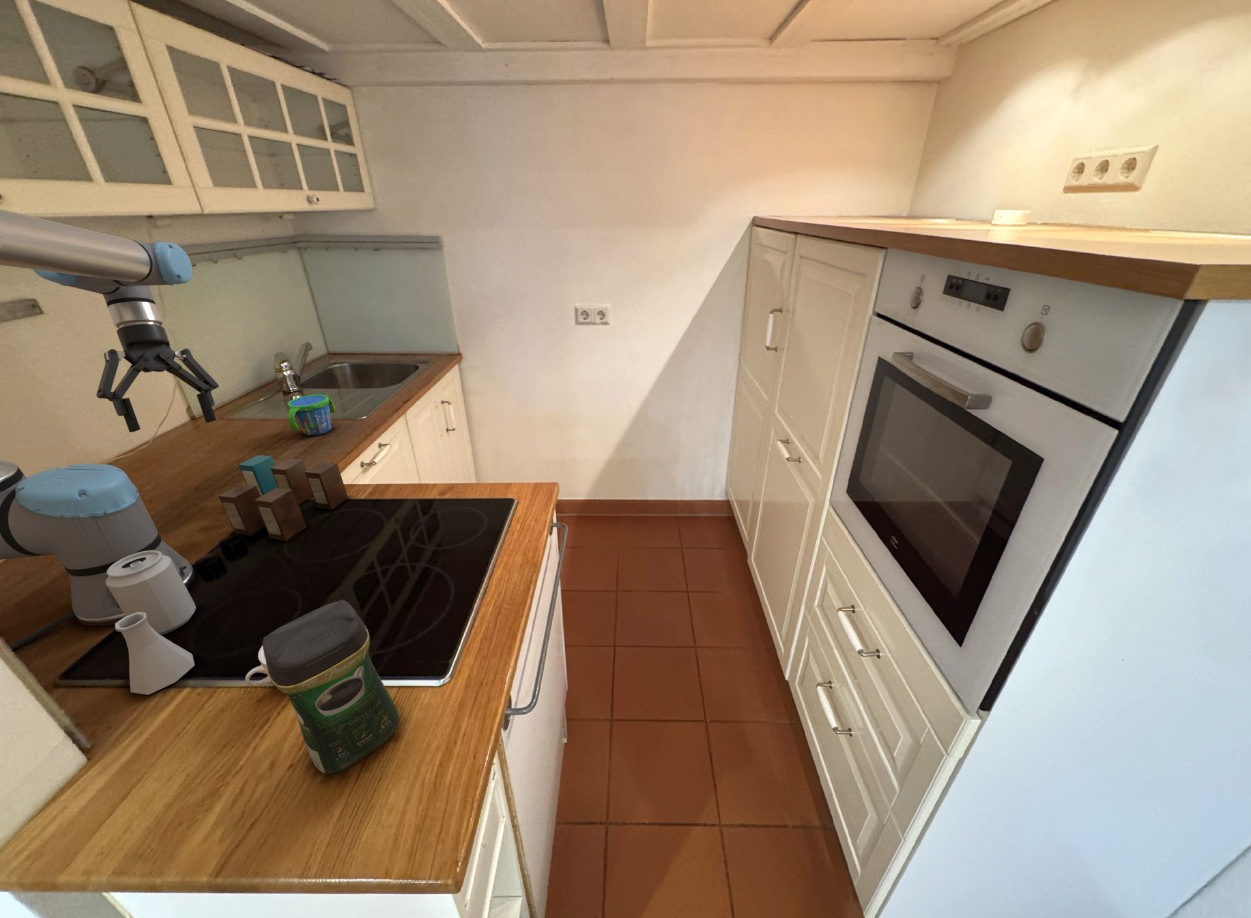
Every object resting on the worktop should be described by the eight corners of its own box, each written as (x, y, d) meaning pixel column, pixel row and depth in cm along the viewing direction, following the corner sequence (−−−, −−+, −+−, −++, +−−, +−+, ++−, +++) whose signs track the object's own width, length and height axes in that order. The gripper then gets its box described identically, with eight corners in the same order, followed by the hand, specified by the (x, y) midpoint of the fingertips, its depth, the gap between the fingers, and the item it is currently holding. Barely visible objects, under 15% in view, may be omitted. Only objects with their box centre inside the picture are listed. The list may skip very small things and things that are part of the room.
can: (189, 599, 84) (157, 541, 79) (205, 617, 80) (173, 556, 75) (131, 626, 79) (93, 566, 74) (146, 647, 75) (107, 584, 70)
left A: (249, 536, 101) (232, 498, 97) (234, 534, 102) (216, 496, 98) (271, 522, 106) (256, 485, 102) (256, 520, 106) (240, 483, 102)
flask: (119, 683, 69) (82, 629, 65) (180, 647, 75) (150, 595, 70) (144, 704, 66) (107, 648, 62) (205, 664, 72) (176, 611, 67)
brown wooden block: (285, 541, 99) (269, 502, 95) (269, 539, 100) (253, 500, 96) (306, 527, 103) (292, 489, 99) (290, 525, 104) (276, 487, 100)
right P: (331, 510, 109) (318, 473, 105) (316, 508, 110) (303, 472, 106) (348, 498, 114) (337, 463, 110) (333, 496, 115) (322, 461, 111)
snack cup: (309, 443, 143) (298, 410, 138) (282, 440, 146) (270, 407, 141) (352, 423, 156) (342, 392, 152) (325, 421, 159) (316, 390, 155)
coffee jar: (383, 693, 66) (345, 583, 58) (409, 731, 61) (370, 617, 53) (303, 743, 60) (247, 628, 52) (323, 790, 55) (265, 671, 47)
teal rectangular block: (266, 501, 114) (251, 466, 110) (252, 499, 115) (237, 464, 111) (285, 490, 118) (271, 456, 114) (271, 488, 119) (257, 454, 115)
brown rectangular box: (297, 505, 111) (284, 470, 107) (283, 504, 112) (269, 468, 108) (316, 494, 116) (303, 459, 112) (301, 492, 117) (289, 458, 113)
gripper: (199, 333, 117) (229, 421, 120) (48, 331, 95) (89, 439, 97) (216, 324, 114) (247, 414, 117) (64, 320, 92) (106, 431, 94)
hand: (175, 426), depth 107 cm, fingers open, 13 cm apart
